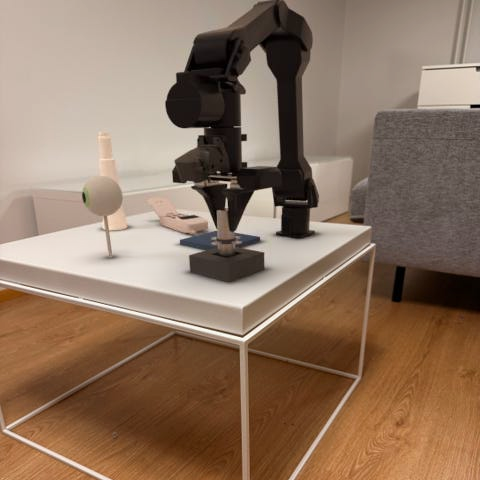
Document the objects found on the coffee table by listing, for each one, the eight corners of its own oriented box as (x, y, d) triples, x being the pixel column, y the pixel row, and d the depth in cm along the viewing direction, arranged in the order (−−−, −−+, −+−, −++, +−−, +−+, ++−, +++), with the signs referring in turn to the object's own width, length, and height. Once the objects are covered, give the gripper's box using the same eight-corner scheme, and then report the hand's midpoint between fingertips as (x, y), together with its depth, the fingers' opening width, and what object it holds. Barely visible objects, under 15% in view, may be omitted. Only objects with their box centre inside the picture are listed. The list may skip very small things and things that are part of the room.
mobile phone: (165, 195, 124) (213, 207, 104) (167, 218, 126) (215, 233, 107) (144, 198, 121) (189, 210, 101) (147, 221, 123) (191, 237, 104)
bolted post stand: (226, 256, 83) (224, 205, 79) (252, 262, 79) (251, 208, 76) (201, 264, 79) (198, 210, 75) (228, 270, 75) (226, 214, 71)
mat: (219, 234, 106) (219, 229, 106) (260, 241, 99) (260, 236, 98) (179, 244, 98) (179, 239, 97) (221, 253, 90) (221, 248, 90)
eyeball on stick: (85, 257, 90) (73, 176, 84) (120, 250, 94) (110, 173, 88) (100, 264, 85) (87, 178, 79) (136, 257, 89) (126, 175, 83)
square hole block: (226, 260, 85) (225, 244, 84) (264, 269, 80) (264, 252, 79) (189, 272, 79) (188, 255, 78) (229, 282, 74) (228, 264, 72)
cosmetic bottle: (120, 230, 112) (109, 132, 103) (98, 230, 113) (84, 132, 105) (131, 225, 117) (121, 131, 109) (110, 225, 119) (98, 132, 110)
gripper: (141, 129, 71) (151, 231, 77) (232, 127, 59) (235, 248, 65) (194, 127, 78) (199, 220, 85) (284, 126, 67) (282, 234, 73)
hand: (225, 230), depth 77 cm, fingers closed on bolted post stand, 3 cm apart
